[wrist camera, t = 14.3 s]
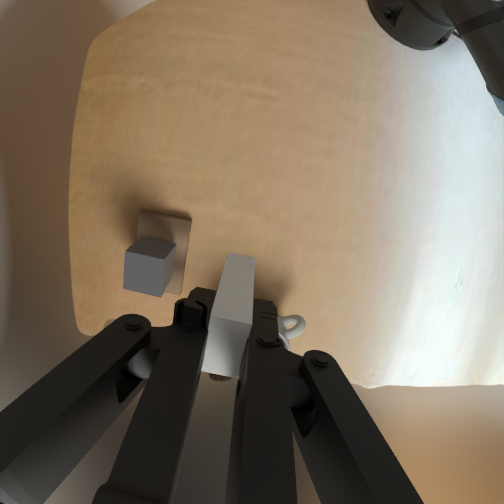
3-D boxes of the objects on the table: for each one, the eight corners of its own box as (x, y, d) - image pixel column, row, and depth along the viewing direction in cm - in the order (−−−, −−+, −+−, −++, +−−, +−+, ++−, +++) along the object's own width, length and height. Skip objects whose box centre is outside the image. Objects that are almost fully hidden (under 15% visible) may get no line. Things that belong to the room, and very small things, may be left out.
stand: (141, 209, 44) (120, 222, 36) (192, 219, 44) (179, 234, 37) (135, 281, 48) (116, 304, 40) (181, 291, 48) (169, 318, 40)
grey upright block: (141, 236, 43) (125, 250, 37) (176, 243, 43) (164, 259, 37) (138, 270, 45) (123, 288, 38) (172, 277, 45) (160, 297, 39)
